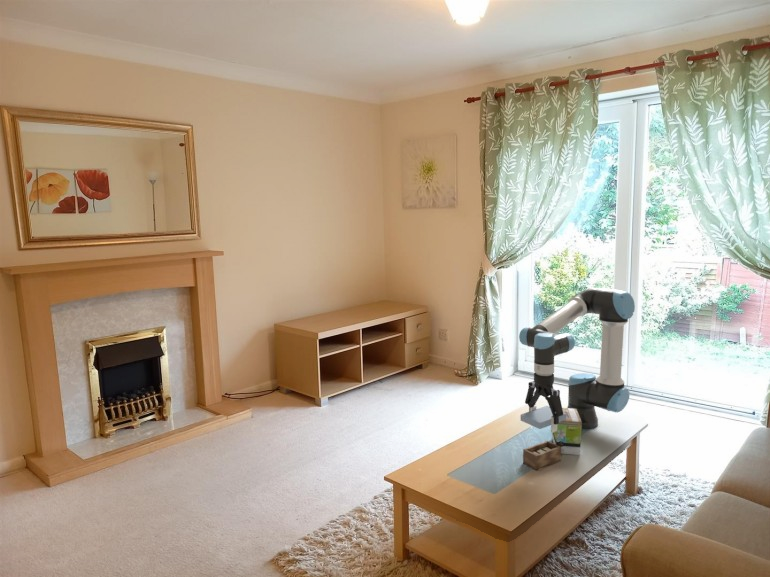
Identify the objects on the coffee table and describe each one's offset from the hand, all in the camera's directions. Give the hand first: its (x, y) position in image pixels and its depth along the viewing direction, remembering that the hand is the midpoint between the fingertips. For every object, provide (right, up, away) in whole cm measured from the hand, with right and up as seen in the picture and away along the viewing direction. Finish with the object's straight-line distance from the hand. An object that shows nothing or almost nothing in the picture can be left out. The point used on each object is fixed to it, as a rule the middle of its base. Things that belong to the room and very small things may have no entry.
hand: (543, 426), depth 210 cm
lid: (0, +3, -1) cm, 3 cm away
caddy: (0, -15, +2) cm, 15 cm away
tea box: (+14, -13, +15) cm, 24 cm away
